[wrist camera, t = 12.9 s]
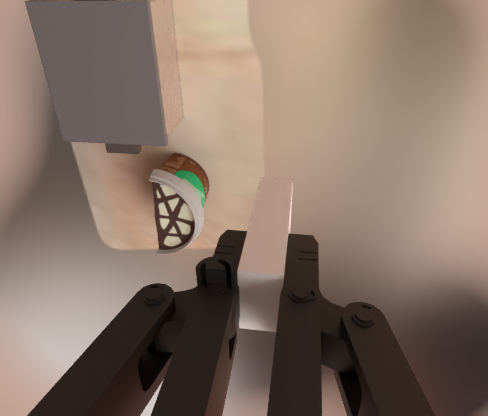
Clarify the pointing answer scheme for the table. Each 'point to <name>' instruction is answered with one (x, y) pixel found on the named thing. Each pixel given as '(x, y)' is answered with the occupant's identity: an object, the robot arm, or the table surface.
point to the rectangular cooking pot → (162, 71)
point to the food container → (178, 202)
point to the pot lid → (101, 69)
